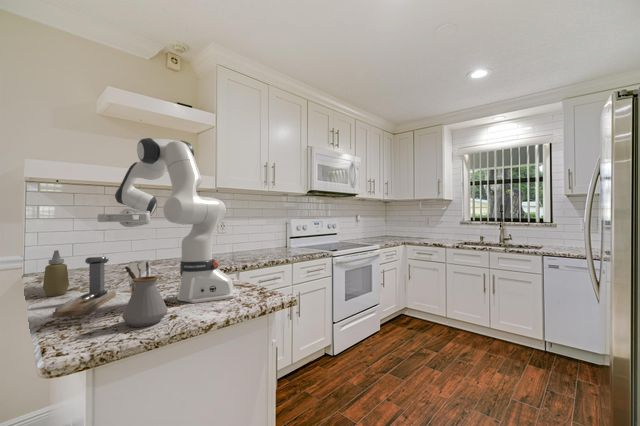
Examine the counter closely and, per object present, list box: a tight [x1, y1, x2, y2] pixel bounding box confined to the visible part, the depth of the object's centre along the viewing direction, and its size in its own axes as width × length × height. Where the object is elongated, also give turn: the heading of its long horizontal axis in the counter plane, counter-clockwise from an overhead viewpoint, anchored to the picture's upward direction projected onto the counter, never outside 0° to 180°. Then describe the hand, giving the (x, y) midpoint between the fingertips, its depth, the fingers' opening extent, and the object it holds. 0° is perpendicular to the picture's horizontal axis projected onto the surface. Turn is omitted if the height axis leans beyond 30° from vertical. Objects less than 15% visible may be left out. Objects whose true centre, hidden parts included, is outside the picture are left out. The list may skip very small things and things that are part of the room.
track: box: [52, 289, 117, 318], centre depth 105 cm, size 9×24×2 cm, turn 16°
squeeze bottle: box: [42, 250, 70, 297], centre depth 121 cm, size 8×8×18 cm
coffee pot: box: [121, 266, 168, 328], centre depth 90 cm, size 21×12×15 cm, turn 51°
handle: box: [83, 256, 110, 302], centre depth 109 cm, size 7×12×14 cm, turn 16°
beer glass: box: [127, 259, 152, 296], centre depth 107 cm, size 7×7×15 cm
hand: (118, 217), depth 129 cm, fingers open, 8 cm apart
